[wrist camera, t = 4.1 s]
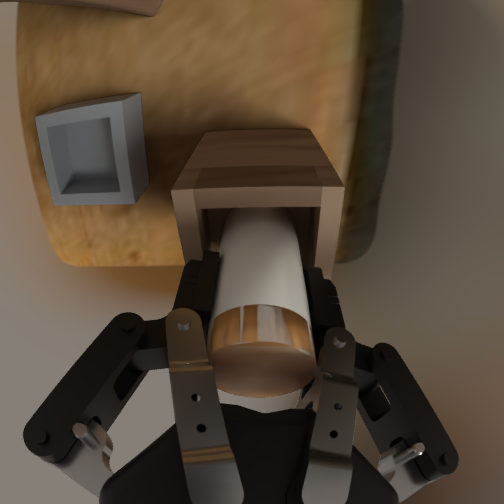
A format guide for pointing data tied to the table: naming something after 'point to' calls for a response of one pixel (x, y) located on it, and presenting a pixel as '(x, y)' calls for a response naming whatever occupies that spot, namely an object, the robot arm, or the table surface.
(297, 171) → the socket tower
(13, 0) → the wooden block
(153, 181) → the table surface
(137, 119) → the low socket
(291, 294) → the white and tan cylinder
